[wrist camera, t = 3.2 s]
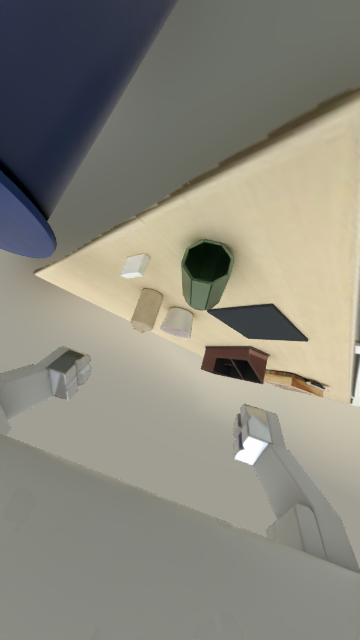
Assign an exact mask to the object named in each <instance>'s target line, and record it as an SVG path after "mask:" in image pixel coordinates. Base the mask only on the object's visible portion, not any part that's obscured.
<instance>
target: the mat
mask: <svg viewBox="0 0 360 640" xmlns="http://www.w3.org/2000/svg"><path fill="white" fill-rule="evenodd" d="M207 312H208V313H210V314H211V315H213V316H214V317H216V318H217V319H219V320H220V321H222V322H224V323H225V324H227V325H228V326H230V327H231V328H233V329H234V330H236V331H237V332H239V333H240V334H242V335H243V336H245V337H247V338H248V339H266V340H287V341H307V342H308V339H307V338H306V337H305V336H304V335H303V334H302V333H301V332H300V331H299V330H298V329H297V328H296V327H295V326H294V325H293V324H292V323H291V322H290V321H289V320H288V319H287V318H286V317H285V316H284V315H283V314H282V313H281V312H280V311H279V310H278V309H277V308H276V307H275V306H274V305H273V304H265V305H254V306H243V307H232V308H221V309H210V310H208V311H207Z"/></svg>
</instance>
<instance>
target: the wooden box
mask: <svg viewBox="0 0 360 640" xmlns="http://www.w3.org/2000/svg"><path fill="white" fill-rule="evenodd" d="M264 382H265V383H268V384H271V385H274V386H277V387H280V388H283V389H286V390H291V391H296V392H300V393H305V394H309V395H314V396H319V397H323V391H329V389H326V388H323V386H321V385H320V384H317V383H315V382H313V381H311V380H304V379H303V378H302V377H299V376H297V375H294V374H290V373H284V372H278V371H271V370H265V376H264Z"/></svg>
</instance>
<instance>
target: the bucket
mask: <svg viewBox="0 0 360 640" xmlns="http://www.w3.org/2000/svg"><path fill="white" fill-rule="evenodd" d="M233 258H234V257H233V256H232V254H231V253H230V252H229V250H228V249H227V248H226V246H225V245H224V244H223V245H222V243H220V242H215V241H210V240H206V239H205V240H201V241H199V242H197V243H195V244H193V245H191V246H189V247H188V249H187V248H186V251H185V254H184V257H183V260H182V263H181V267H182V287H183V296H184V298H185V300H186V302H187V303H188V305H190V306H191V307H192V308H194V309H197V310H208V309H211V308H213V307H214V306H215V305H216V304H218V302H219V301H220V299H221V296H222V294H223V292H224V289H225V287H226V284H227V282H228V280H229V277H230V275H231V271H232V267H233V263H234V259H233Z"/></svg>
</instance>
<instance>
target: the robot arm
mask: <svg viewBox="0 0 360 640" xmlns="http://www.w3.org/2000/svg"><path fill="white" fill-rule="evenodd" d="M90 360H91V359H90V355H88V354H85V353H82V352H79V351H76V350H73V349H70V348H67V347H64V346H62V347H59V348H58V349H57V350H55V351H54V352H52V353H51V354H50V355H48V356H47V357H46V358H44V359H43V360H42V361H40V362H39V363H38V364H36V365H34V364H32V365H28V366H25V367H21V368H18V369H14V370H11V371H8V372H4V373H0V640H360V569H359V566H358V563H357V561H356V558H355V555H354V553H353V550H352V547H351V545H350V542H349V539H348V536H347V534H346V531H345V528H344V526H343V523H342V520H341V518H340V517H339V515H338V514H337V513H336V511H335V510H334V509H333V507H332V506H331V505H330V503H329V502H328V501H327V499H326V498H325V497H324V495H323V494H322V493H321V491H320V490H319V489H318V488H317V486H316V485H315V484H314V482H313V481H312V480H311V478H310V477H309V476H308V474H307V473H306V472H305V471H304V469H303V468H302V466H301V465H300V464H299V462H298V461H297V460H296V458H295V457H294V456H293V454H292V453H291V452H290V451H289V450H287V449H286V447H285V443H284V439H283V435H282V431H281V427H280V423H279V419H278V416H277V414H275V413H272V412H269V411H266V410H263V409H259V408H256V407H253V406H250V405H246V404H243V405H242V407H241V410H240V411H241V413H239V414H238V415H237V416H236V418H235V422H234V428H233V432H234V433H233V434H234V436H235V438H236V440H235V442H234V459H236V460H238V461H241V462H244V463H246V464H249V465H251V466H253V469H254V471H255V473H256V476H257V478H258V480H259V482H260V484H261V486H262V488H263V490H264V492H265V495H266V497H267V499H268V501H269V503H270V505H271V507H272V509H273V511H274V513H275V515H276V518H277V520H276V521H275V522H274V523H273V524H272V525H271V526H269V527H268V528H267V529H266V533H267V537H264V536H262V535H259V534H256V533H254V532H251V531H249V530H246V529H244V528H241V527H239V526H236V525H233V524H231V523H228V522H226V521H223V520H221V519H218V518H216V517H213V516H210V515H208V514H205V513H203V512H200V511H198V510H195V509H193V508H190V507H188V506H185V505H182V504H180V503H177V502H175V501H172V500H170V499H167V498H164V497H162V496H159V495H157V494H154V493H152V492H149V491H147V490H144V489H141V488H139V487H136V486H134V485H131V484H129V483H126V482H123V481H121V480H118V479H116V478H113V477H111V476H108V475H105V474H103V473H101V472H98V471H95V470H93V469H90V468H88V467H85V466H83V465H80V464H77V463H75V462H72V461H70V460H67V459H65V458H62V457H60V456H57V455H54V454H52V453H49V452H47V451H44V450H42V449H39V448H37V447H34V446H31V445H29V444H26V443H24V442H21V441H19V440H16V439H13V438H11V437H8V436H6V435H7V434H8V433H9V432H10V431H11V426H10V424H9V422H8V419H10V418H12V417H14V416H16V415H18V414H20V413H22V412H24V411H26V410H28V409H30V408H32V407H34V406H36V405H38V404H40V403H42V402H44V401H46V400H48V399H49V398H51V397H53V396H56V397H59V398H62V399H65V400H70V399H71V398H72V396H73V395H74V394H75V393H76V392H77V391H78V386H80V385H82V384H84V383H85V382H86V381H87V380H88V377H89V376H90V373H91V366H90V365H89V362H90Z"/></svg>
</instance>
